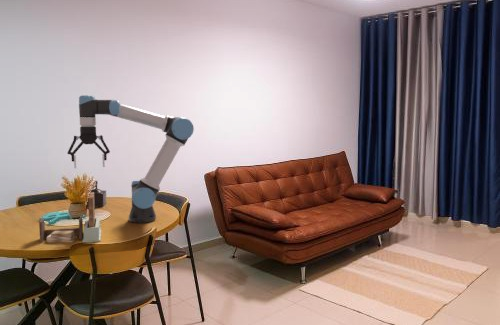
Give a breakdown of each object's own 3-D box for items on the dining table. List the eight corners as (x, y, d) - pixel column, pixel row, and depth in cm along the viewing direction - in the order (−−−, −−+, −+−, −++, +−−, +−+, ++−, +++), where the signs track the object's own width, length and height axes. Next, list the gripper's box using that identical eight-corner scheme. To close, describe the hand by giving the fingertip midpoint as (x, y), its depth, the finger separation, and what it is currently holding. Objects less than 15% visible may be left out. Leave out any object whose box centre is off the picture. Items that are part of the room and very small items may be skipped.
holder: (101, 230, 208) (101, 217, 207) (100, 241, 190) (100, 227, 189) (84, 231, 206) (84, 218, 205) (82, 242, 187) (81, 228, 187)
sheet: (93, 238, 191) (92, 197, 189) (89, 239, 190) (88, 198, 188) (95, 230, 205) (94, 192, 203) (90, 230, 204) (89, 192, 202)
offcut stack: (76, 239, 193) (76, 230, 193) (73, 242, 188) (72, 233, 188) (51, 239, 192) (50, 230, 192) (46, 242, 187) (46, 233, 187)
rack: (82, 235, 199) (82, 215, 198) (81, 239, 192) (81, 219, 191) (42, 237, 193) (42, 217, 192) (40, 242, 186) (39, 222, 185)
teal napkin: (85, 219, 231) (68, 213, 244) (85, 215, 231) (68, 209, 244) (50, 225, 216) (34, 219, 229) (50, 221, 216) (34, 215, 228)
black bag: (89, 204, 268) (89, 177, 266) (106, 203, 270) (106, 177, 267) (82, 209, 253) (82, 181, 251) (100, 209, 254) (100, 181, 252)
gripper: (113, 125, 212) (114, 165, 214) (61, 126, 202) (63, 167, 205) (114, 126, 205) (115, 167, 207) (60, 126, 195) (62, 169, 198)
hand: (89, 167), depth 206 cm, fingers open, 13 cm apart
